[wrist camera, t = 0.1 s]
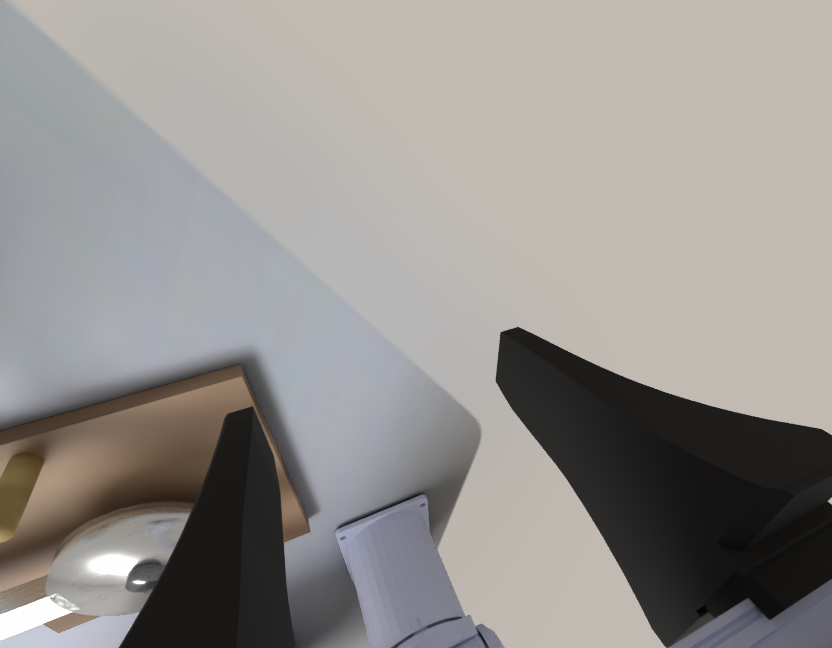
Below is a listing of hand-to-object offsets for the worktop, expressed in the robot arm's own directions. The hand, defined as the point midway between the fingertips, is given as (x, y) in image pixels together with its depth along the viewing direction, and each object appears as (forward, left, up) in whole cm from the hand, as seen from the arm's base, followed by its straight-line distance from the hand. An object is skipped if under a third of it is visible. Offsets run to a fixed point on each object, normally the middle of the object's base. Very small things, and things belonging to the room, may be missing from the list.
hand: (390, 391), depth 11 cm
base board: (-13, +13, -10) cm, 21 cm away
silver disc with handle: (-14, +15, -7) cm, 22 cm away
